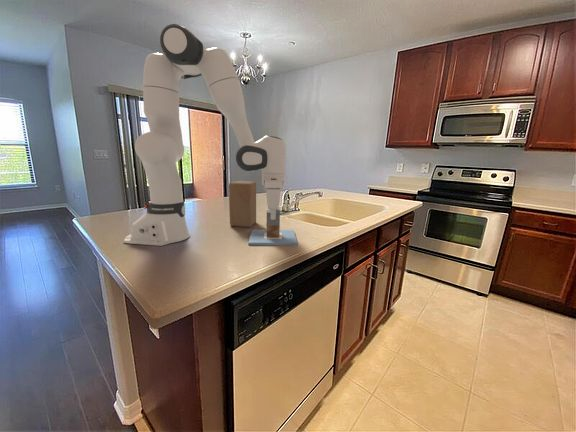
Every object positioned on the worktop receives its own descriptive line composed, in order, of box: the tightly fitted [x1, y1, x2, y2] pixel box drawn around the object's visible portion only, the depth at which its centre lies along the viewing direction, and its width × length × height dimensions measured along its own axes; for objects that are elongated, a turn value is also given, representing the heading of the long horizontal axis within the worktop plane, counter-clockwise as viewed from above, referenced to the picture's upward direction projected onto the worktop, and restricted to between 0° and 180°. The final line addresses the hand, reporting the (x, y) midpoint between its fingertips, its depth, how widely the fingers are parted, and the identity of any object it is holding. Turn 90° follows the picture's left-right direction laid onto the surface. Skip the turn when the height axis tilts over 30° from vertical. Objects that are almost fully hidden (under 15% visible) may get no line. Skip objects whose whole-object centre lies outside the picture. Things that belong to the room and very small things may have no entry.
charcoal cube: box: [266, 209, 281, 226], centre depth 99 cm, size 5×5×5 cm
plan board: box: [247, 229, 298, 246], centre depth 101 cm, size 18×16×1 cm
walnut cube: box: [266, 224, 281, 238], centre depth 100 cm, size 5×5×5 cm
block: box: [228, 180, 257, 228], centre depth 118 cm, size 10×10×20 cm
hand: (273, 216), depth 99 cm, fingers open, 8 cm apart
